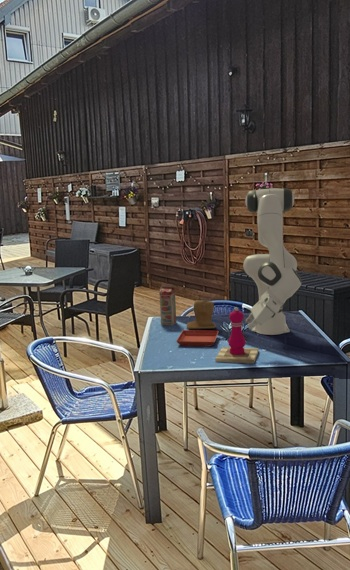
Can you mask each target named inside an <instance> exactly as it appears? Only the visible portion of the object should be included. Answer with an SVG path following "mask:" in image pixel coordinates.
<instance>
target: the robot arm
mask: <svg viewBox="0 0 350 570" xmlns="http://www.w3.org/2000/svg"><path fill="white" fill-rule="evenodd" d="M244 201H245V202H244V203H245V206H246V209H247V211H248V212H249V213H254V214H256V213H257V215H256V216H257V220H256V224H257V232H258V233H257V238H258V239H257V240H258V243H259V244H260V245H261V246H263V247H265V248H267V250H268V253H265V254H264V253H263V254H262V253H259V254H258V253H255V254H252V255H247V256H246V258H244V261H243V266H242V267H243V270H244V272H245V274H247V276H249V277H250V278H251V279H252V280H253V282H255V284H256V287H257V291H258V301H257V302H256V303H255V304H254V305H253V306H252V307H251V308H250V313H249V316H248V317H247V318H246V319H245V323H246V324H248V325H247V328H248V329H249V330H251V331H252V332H256V334H257V333H258V334H260V335H267V336H268V335H270V336H273V335H274V336H275V335H281V334H287V333H290V332H291V331H290V330H291V329H290V328H289V327H288V325H287V321H286V315H285V314H284V312H283V307H284V304H285V303H286V301H287V300H288V299H289V298H291V297H293V295H294V294H295V293H296V292H297V291H298V289H299V288H300V287H301V286H302V283H303V279H302V277H301V276H300V275H299V273H298V271H297V268H298V262H297V259H296V258H295V256H294V255H293V254H291V253H290V252H289V251H288V250H287V249H286V247H285V245H284V241H283V240H284V238H283V237H284V233H283V231H284V229H283V228H284V216H283V214H285V213H286V212H288V211H291V209H293V206H294V203H295V195H294V193H293V190H291V189H290V188H287V187H284V188H280V187H279V188H274V187H273V188H271V187H270V188H263V189H262V188H261V189H254V190H253V189H252V190H249V191H248V192H246V196H245V199H244Z"/></svg>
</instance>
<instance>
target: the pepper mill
mask: <svg viewBox="0 0 350 570" xmlns="http://www.w3.org/2000/svg"><path fill="white" fill-rule="evenodd" d="M228 318H229V320H230V326H231V332H230V336H229V338H228V343H227V344H228V346H229V347H231V348H230V353H231V354H233V355H241V354H244V348H245V346H246V339H245V336H244V333H243V330H242V326H243V325H244V324H243V320H244V319H245V318H244V313H243V312H242V311H241V310H239V307H237V306H235V307H234V309H233V311H231V312H230V314H229V316H228Z"/></svg>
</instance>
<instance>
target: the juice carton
mask: <svg viewBox="0 0 350 570" xmlns="http://www.w3.org/2000/svg"><path fill="white" fill-rule="evenodd" d="M158 292H159V311H160V312H159V313H160V325H161V326H174V325H175V324H176V323H177V307H176V306H177V305H176V304H177V303H176V289H175V287H174V285H173V284H171V283H167V284H166V283H162V284H160V289H159V291H158Z"/></svg>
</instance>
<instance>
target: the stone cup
mask: <svg viewBox="0 0 350 570" xmlns="http://www.w3.org/2000/svg"><path fill="white" fill-rule="evenodd" d="M214 306H215V304H214V302H213V301H211V300H197V299H196V300H195V301H194V304H193V313H194V316H195V317H194V318H195V320H193V321H189V322H187V324H186V329H187V330H209V329H215V328H216V327H217V325H216V323H214V322H212V318H213V315H214V314H213V313H214V309H215V307H214Z"/></svg>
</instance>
